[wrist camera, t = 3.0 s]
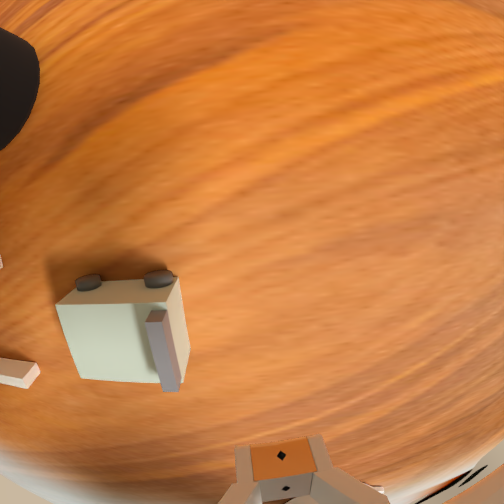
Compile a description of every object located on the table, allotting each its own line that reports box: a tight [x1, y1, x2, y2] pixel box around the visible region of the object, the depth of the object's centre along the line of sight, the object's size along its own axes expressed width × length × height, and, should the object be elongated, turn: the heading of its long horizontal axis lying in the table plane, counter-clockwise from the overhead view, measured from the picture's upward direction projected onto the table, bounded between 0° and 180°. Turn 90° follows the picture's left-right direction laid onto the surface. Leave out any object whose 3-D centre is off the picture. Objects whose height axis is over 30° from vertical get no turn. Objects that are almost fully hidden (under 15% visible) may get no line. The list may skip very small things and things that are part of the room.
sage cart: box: [55, 270, 191, 392], centre depth 18 cm, size 7×8×6 cm
